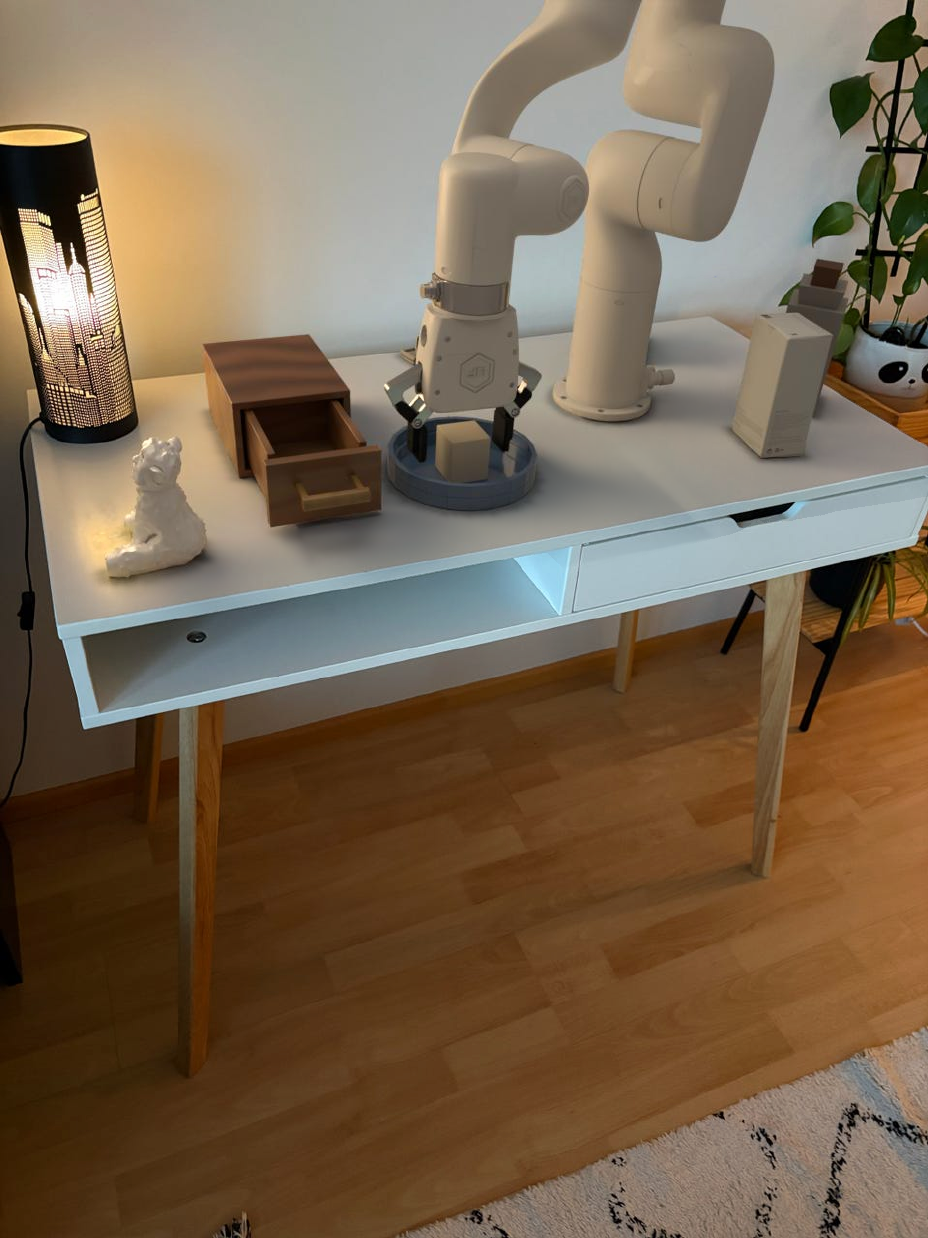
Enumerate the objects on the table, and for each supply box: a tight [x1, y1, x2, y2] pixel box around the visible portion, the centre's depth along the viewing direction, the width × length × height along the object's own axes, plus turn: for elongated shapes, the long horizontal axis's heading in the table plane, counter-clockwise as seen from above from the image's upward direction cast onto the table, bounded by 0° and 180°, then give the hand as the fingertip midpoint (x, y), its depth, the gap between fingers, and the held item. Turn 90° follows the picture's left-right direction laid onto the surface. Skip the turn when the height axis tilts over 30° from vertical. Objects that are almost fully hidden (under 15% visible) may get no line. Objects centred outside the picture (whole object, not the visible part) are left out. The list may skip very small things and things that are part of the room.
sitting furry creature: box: [104, 436, 208, 579], centre depth 87 cm, size 10×9×12 cm
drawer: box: [240, 398, 383, 528], centre depth 97 cm, size 20×11×7 cm, turn 23°
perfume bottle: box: [785, 258, 849, 418], centre depth 121 cm, size 7×7×18 cm
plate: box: [386, 416, 538, 511], centre depth 105 cm, size 16×16×3 cm
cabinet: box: [201, 334, 352, 478], centre depth 108 cm, size 17×13×9 cm
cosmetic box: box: [731, 312, 833, 459], centre depth 112 cm, size 8×6×15 cm
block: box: [435, 421, 491, 483], centre depth 104 cm, size 4×4×5 cm
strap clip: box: [400, 335, 420, 365], centre depth 128 cm, size 8×3×4 cm, turn 35°
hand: (459, 451), depth 104 cm, fingers open, 9 cm apart
